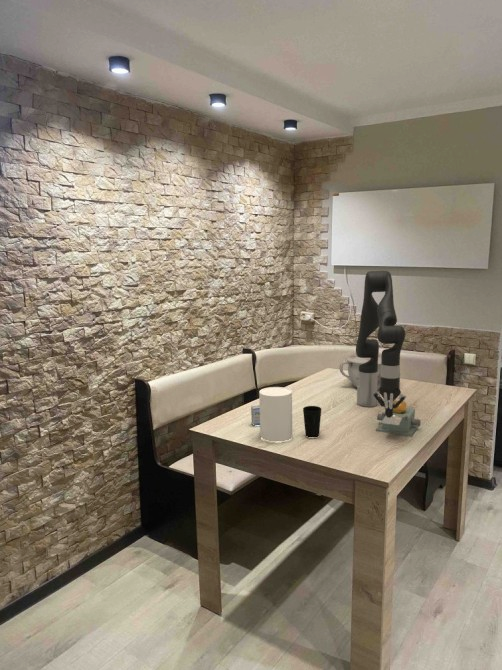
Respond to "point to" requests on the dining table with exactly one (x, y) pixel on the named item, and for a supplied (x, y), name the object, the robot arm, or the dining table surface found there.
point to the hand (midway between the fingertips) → (389, 417)
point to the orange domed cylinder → (400, 408)
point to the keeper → (393, 420)
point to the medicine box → (255, 415)
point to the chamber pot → (353, 368)
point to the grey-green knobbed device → (406, 425)
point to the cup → (312, 420)
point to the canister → (275, 413)
